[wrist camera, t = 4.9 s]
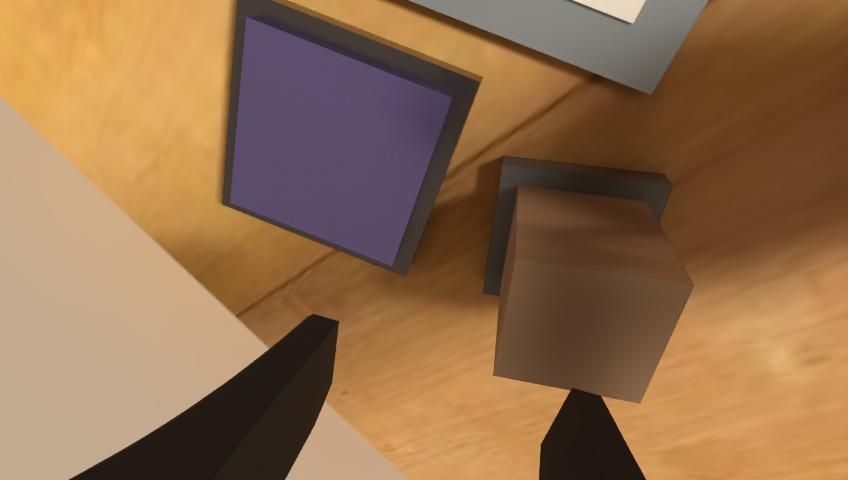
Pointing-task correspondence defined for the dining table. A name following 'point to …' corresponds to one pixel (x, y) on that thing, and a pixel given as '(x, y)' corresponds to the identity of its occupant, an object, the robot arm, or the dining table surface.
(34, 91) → the dining table surface
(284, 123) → the ink pad
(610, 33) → the marked board
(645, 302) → the stamp
